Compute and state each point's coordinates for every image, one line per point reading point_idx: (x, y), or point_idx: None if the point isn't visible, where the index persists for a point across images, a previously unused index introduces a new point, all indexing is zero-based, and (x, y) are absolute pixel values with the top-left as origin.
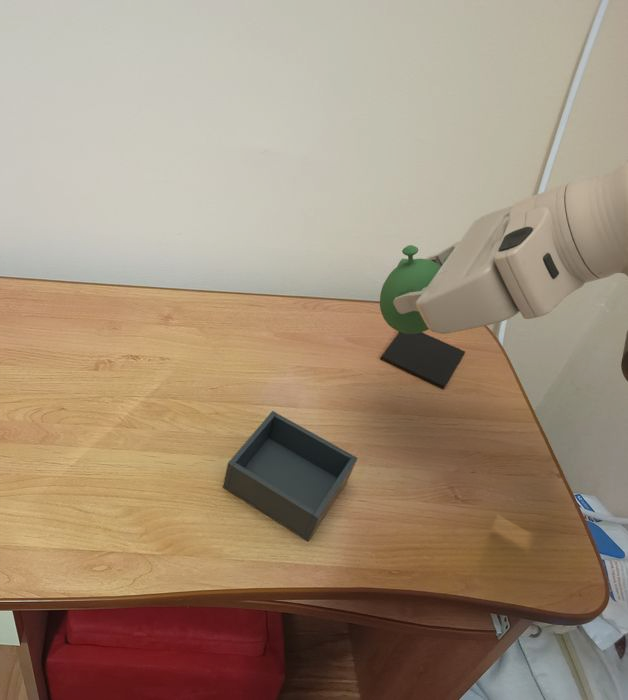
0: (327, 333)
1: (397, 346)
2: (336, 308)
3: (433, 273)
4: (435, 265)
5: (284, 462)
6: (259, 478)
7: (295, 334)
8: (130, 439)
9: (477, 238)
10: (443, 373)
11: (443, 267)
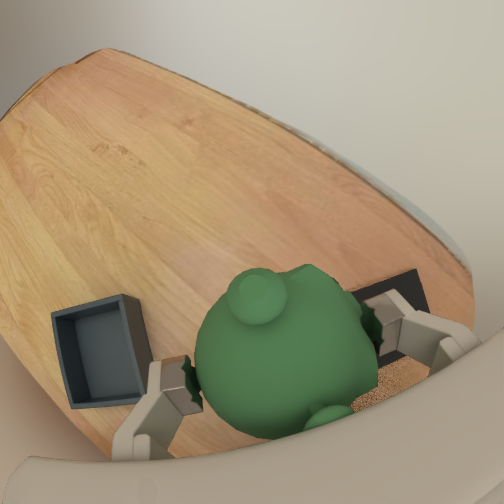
0: (326, 224)
1: (381, 291)
2: (368, 200)
3: (271, 403)
4: (315, 380)
5: (124, 337)
6: (58, 345)
7: (289, 204)
8: (58, 228)
9: (448, 461)
10: (390, 354)
11: (200, 474)
